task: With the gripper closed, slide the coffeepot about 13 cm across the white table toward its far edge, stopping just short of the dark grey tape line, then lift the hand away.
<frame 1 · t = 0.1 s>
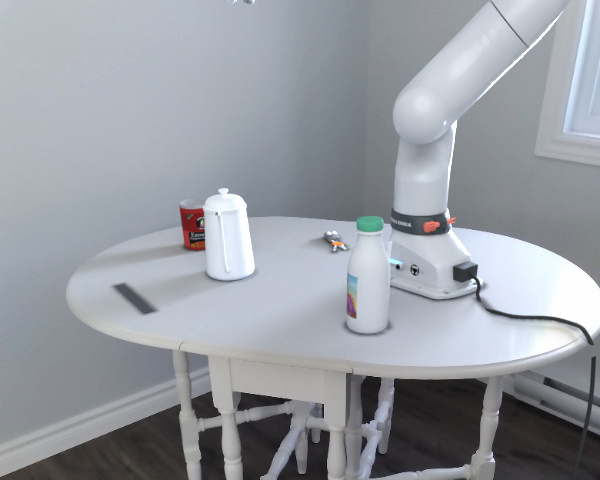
hand: (239, 3, 124), 52 cm above the table, tool tilted 20°, fingers open, 8 cm apart
coffeepot: (230, 274, 144), on the table
milk bottle: (367, 326, 119), on the table
key chain: (335, 244, 160), on the table
tape line: (133, 298, 134), on the table
canned food: (199, 246, 162), on the table
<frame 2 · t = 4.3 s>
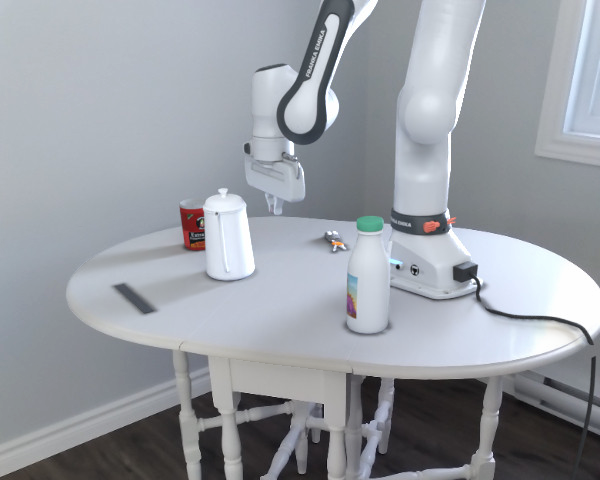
hand: (275, 213, 144), 11 cm above the table, tool pointing down, fingers closed
nothing on the table moved.
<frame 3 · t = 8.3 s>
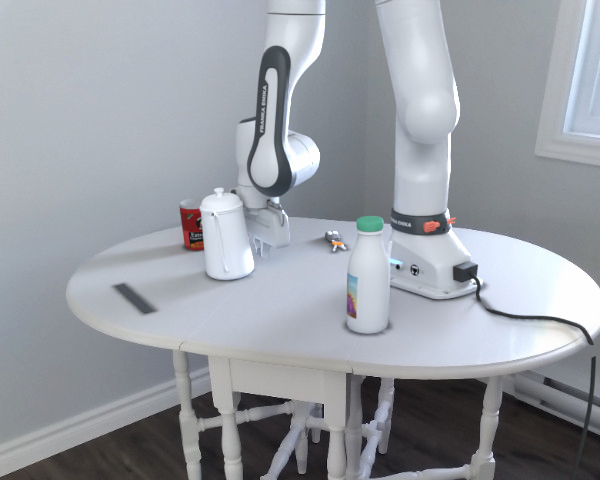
hand: (262, 256, 147), 2 cm above the table, tool pointing down, fingers closed
coffeepot: (230, 273, 144), on the table, touching arm
everything else where it was.
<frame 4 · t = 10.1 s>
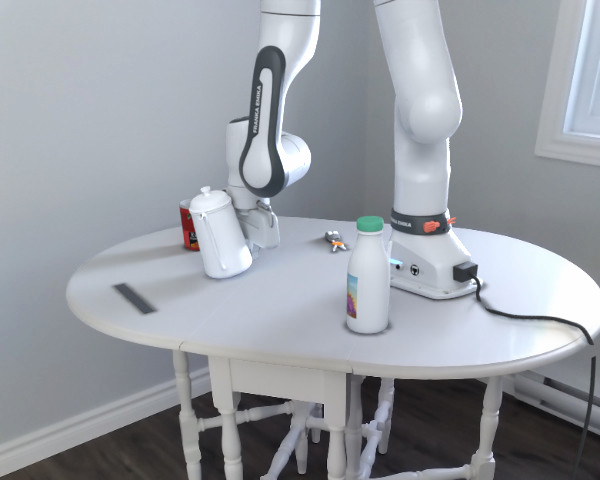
hand: (252, 257, 146), 2 cm above the table, tool pointing down, fingers closed, pressing on coffeepot
coffeepot: (230, 270, 144), point 1 cm above the table, touching arm, gripper
everything else where it was.
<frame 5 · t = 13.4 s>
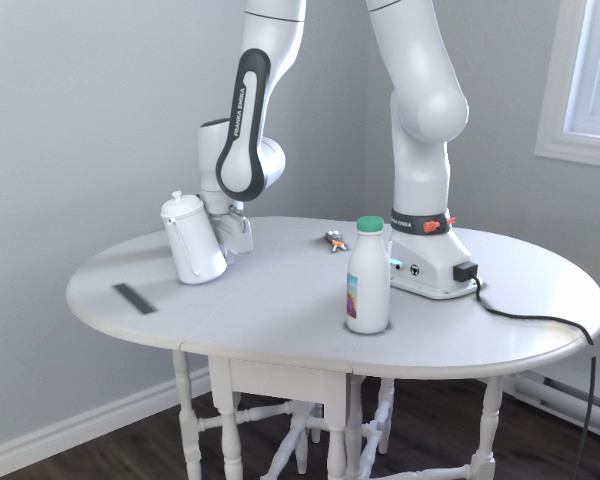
hand: (227, 263, 144), 2 cm above the table, tool pointing down, fingers closed, pressing on coffeepot
coffeepot: (203, 276, 141), point 1 cm above the table, touching arm, gripper
everything else where it was.
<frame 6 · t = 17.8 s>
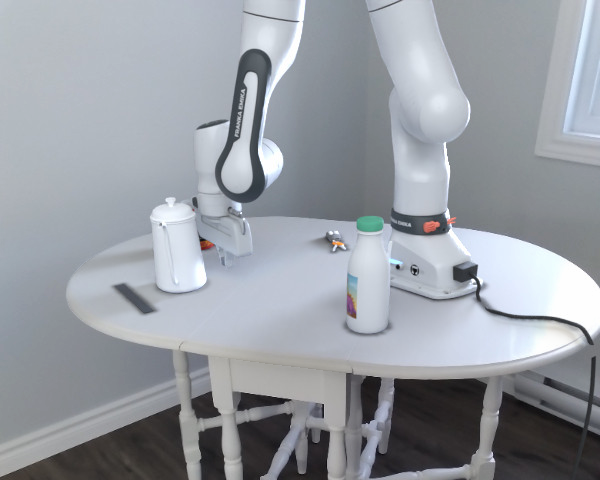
hand: (226, 265, 143), 2 cm above the table, tool pointing down, fingers closed
coffeepot: (181, 286, 139), on the table
everything else where it was.
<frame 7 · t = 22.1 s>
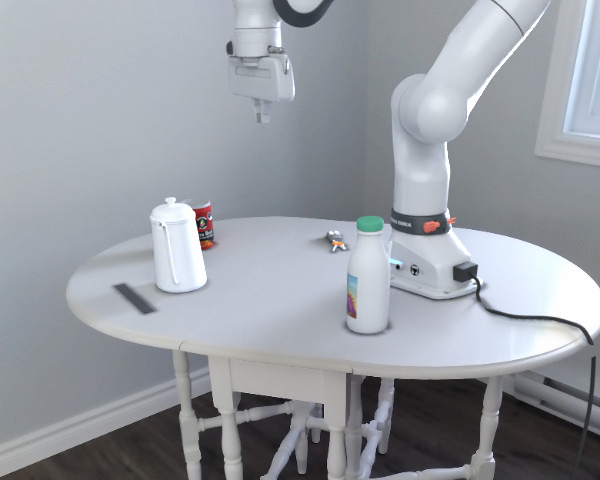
hand: (262, 123, 130), 31 cm above the table, tool pointing down, fingers closed
nothing on the table moved.
at the end: coffeepot inside the target area (3.1 cm from its centre), on the table; coffeepot tilted 0° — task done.
